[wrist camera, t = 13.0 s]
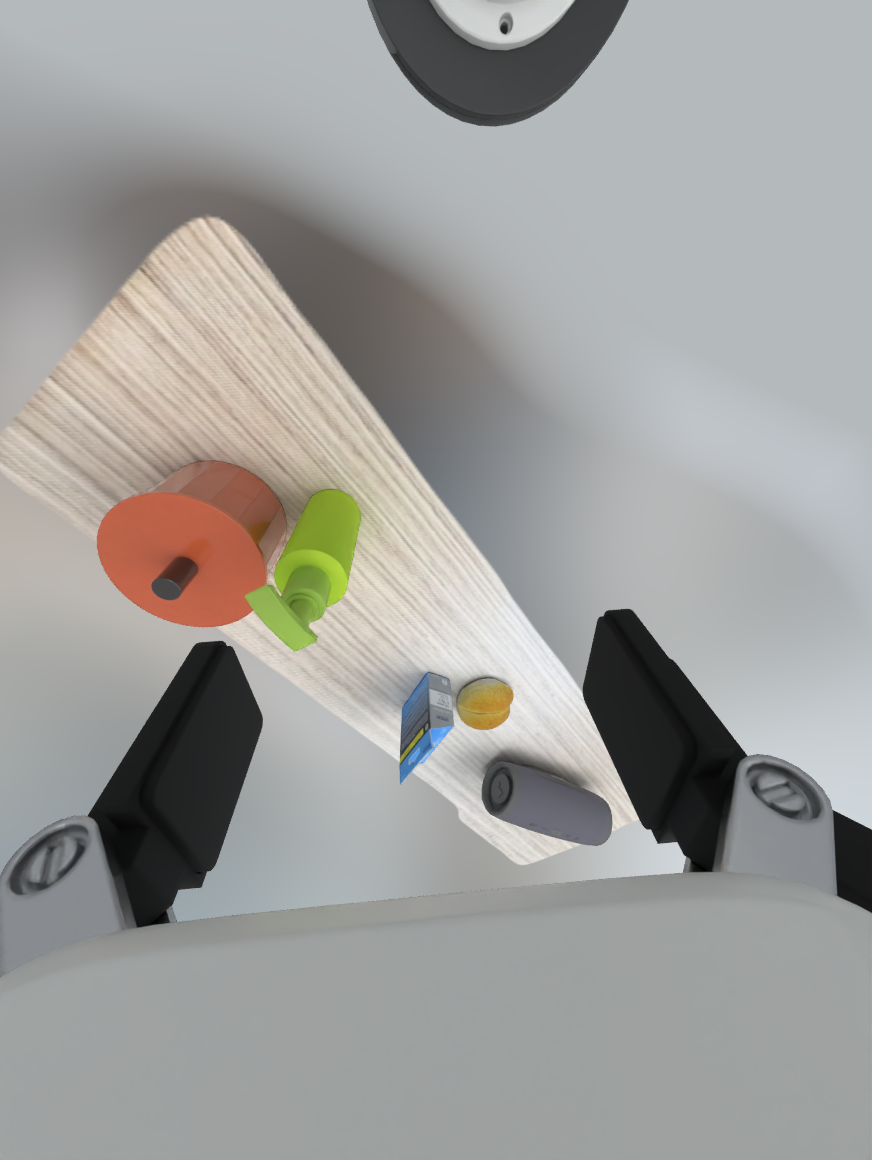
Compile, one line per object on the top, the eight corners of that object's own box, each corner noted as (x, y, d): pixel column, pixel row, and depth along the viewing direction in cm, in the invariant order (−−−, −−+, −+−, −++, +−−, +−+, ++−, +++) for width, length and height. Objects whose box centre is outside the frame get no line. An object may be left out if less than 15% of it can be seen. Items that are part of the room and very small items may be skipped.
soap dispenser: (335, 470, 42) (290, 575, 25) (371, 524, 46) (352, 647, 29) (288, 496, 43) (216, 612, 27) (326, 547, 47) (284, 677, 30)
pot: (140, 465, 41) (77, 502, 33) (269, 456, 41) (237, 491, 33) (189, 572, 48) (146, 625, 40) (298, 564, 48) (278, 614, 40)
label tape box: (423, 714, 64) (426, 792, 54) (399, 707, 63) (398, 785, 52) (450, 678, 60) (460, 754, 50) (425, 670, 59) (430, 746, 48)
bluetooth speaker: (475, 771, 73) (484, 830, 65) (507, 743, 69) (522, 802, 61) (566, 802, 81) (585, 859, 73) (600, 778, 77) (624, 835, 69)
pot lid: (72, 494, 33) (28, 518, 29) (244, 482, 33) (223, 504, 29) (146, 625, 40) (119, 658, 36) (285, 614, 41) (273, 646, 37)
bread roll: (514, 675, 61) (521, 696, 57) (504, 715, 65) (509, 737, 62) (459, 675, 60) (462, 696, 56) (453, 715, 65) (455, 737, 61)
